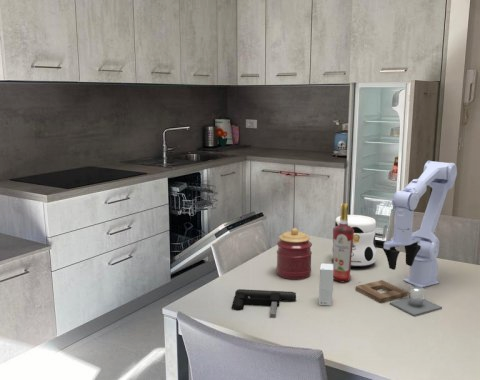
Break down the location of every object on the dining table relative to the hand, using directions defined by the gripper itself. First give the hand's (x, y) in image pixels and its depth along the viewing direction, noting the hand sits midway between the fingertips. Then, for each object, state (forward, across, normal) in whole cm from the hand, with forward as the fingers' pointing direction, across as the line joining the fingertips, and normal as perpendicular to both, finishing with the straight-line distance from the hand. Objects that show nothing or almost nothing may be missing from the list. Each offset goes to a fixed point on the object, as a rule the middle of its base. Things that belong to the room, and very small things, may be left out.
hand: (400, 267), depth 161 cm
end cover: (+9, +3, +10) cm, 14 cm away
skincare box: (+10, +26, -6) cm, 28 cm away
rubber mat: (+9, +3, +10) cm, 14 cm away
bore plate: (+9, +5, -3) cm, 11 cm away
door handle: (+10, +45, -13) cm, 48 cm away
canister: (+10, +21, -32) cm, 39 cm away
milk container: (+10, -7, -31) cm, 33 cm away
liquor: (+10, +9, -19) cm, 23 cm away
